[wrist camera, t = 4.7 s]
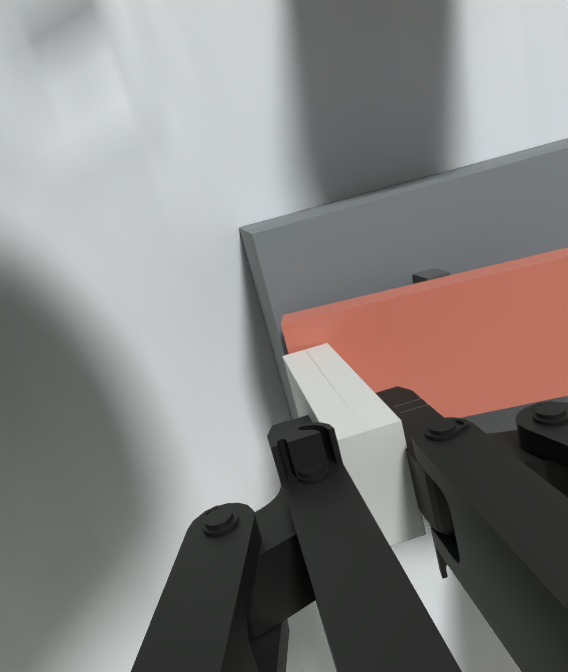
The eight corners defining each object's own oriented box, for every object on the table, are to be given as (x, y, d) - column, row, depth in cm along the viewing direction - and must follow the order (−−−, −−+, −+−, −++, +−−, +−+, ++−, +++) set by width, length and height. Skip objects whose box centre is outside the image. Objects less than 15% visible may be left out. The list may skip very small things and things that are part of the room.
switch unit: (296, 435, 26) (331, 518, 19) (239, 227, 24) (256, 235, 17) (734, 301, 28) (909, 331, 21) (726, 95, 26) (924, 52, 19)
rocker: (313, 431, 19) (313, 447, 18) (282, 314, 18) (280, 324, 17) (636, 364, 18) (659, 376, 17) (625, 233, 17) (648, 238, 16)
